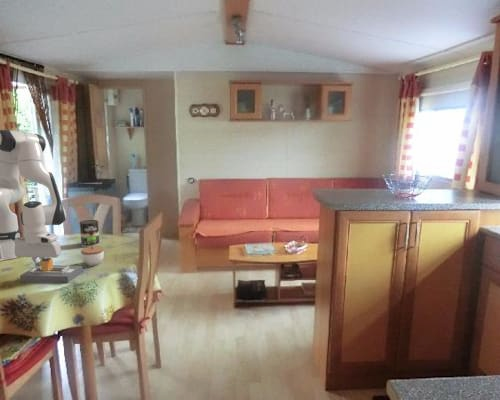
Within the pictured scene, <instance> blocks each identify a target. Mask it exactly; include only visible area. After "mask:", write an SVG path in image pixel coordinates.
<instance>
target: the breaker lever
mask: <svg viewBox="0 0 500 400" xmlns="http://www.w3.org/2000/svg"><path fill="white" fill-rule="evenodd" d="M53 265H54V263H53V258H47V257H45V259H43V260H42V261H41V268H42V271H50V270H52V269H53Z"/></svg>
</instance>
